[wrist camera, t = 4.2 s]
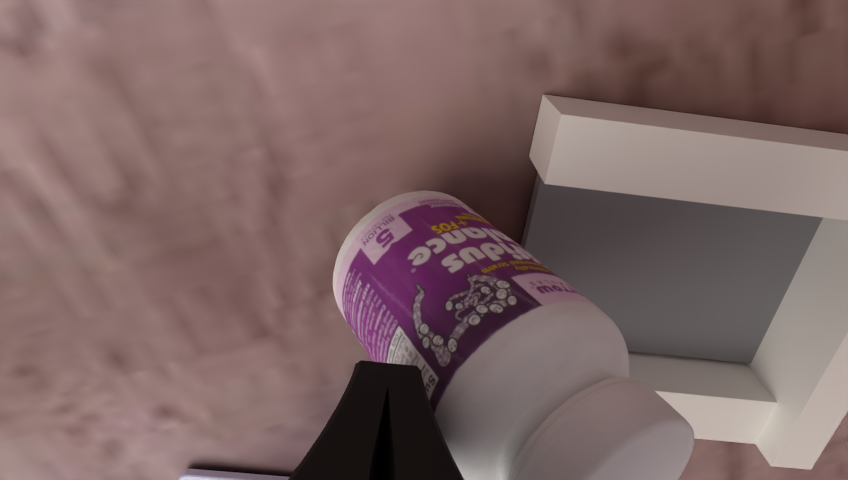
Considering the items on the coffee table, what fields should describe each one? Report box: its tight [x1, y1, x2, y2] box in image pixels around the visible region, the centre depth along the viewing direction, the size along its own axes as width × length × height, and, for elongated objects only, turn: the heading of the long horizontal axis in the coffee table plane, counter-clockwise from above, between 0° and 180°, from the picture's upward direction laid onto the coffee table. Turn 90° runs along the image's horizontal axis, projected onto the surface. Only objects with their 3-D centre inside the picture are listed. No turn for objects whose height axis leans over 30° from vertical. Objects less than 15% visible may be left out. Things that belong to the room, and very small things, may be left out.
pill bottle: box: [333, 190, 695, 480], centre depth 15 cm, size 5×5×10 cm
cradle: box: [520, 94, 848, 470], centre depth 18 cm, size 11×12×4 cm
